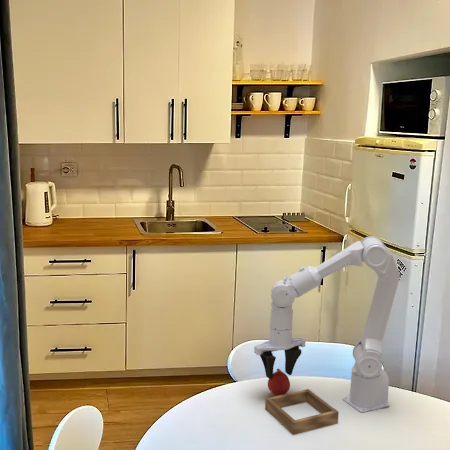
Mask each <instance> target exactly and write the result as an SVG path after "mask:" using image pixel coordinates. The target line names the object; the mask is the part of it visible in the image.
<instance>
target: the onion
mask: <svg viewBox="0 0 450 450" xmlns="http://www.w3.org/2000/svg"><path fill="white" fill-rule="evenodd" d="M267 388H268V390H269V391H270V393H272V395H274V397H275V396H279V395H284V394H288V393H289V390H290V388H291V382H290V379H289V377H288V376H287V373H286V372H284V371H282V370H281V368H277V369H276V371H275V372H273V378H272V379H269V378H268V380H267Z"/></svg>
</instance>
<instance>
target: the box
mask: <svg viewBox="0 0 450 450" xmlns="http://www.w3.org/2000/svg"><path fill="white" fill-rule="evenodd" d="M304 403H307V404H308V405H310V406H311V407H313V408H314V409H315V410H316V411H318V412H319V413H318V414H315V415H310V416H306V417H302V418H299V419H295V418H293V417H292V415H290V414H289V413H287V411H285V410H284V409H283V408H286V407H291V406H295V405H300V404H304ZM264 407H265V409H264V410H266V412H267V413H268V414H270V415H271V416H272V417H273V418H274V419H275V420H276V421H278V422H279V424H280V425H282V426H283V427H284V428H285V429H286V430H287V431H288V432H289V433H291V435H292V436H293V435H297V434H301V433H305V432H308V431H313V430H317V429H321V428H325V427H328V426H332V425H335V424H338V423H339V415H340V414H339V411H338V410H337V409H336V408H334V407H333V406H331V405H330V404H329V403H327V402H326V401H325V400H323V398H321V397H319V395H317V394H315V393H314V392H313V391H312V390H311V389H309V388H308V389H302V390H297V391H294V392H287V393H286V394H284V395H279V396H275V395H274V396H272V397H267V398H265V406H264Z"/></svg>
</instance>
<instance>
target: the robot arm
mask: <svg viewBox="0 0 450 450" xmlns="http://www.w3.org/2000/svg"><path fill="white" fill-rule="evenodd" d="M363 263H364V264H365V265H366V266H367V267H369V268H370V269H371V270H373V271H374V272H375V274H376V276H377V281H376V285H375V289H374V293H373V295H372V300H371V303H370V306H369V311H368V314H367V318H366V322H365V326H364V329H363V333H362V334H361V335H360V337H359V340H358V342H357V343H356V345H355V346H354V347H353V349H352V356H353V358H354V362H355V363H354V364H353V366H352V368H351V375H350V376H351V380H350V391H349V395H348V396H345V397H342V400H343V402H345V403H347V404H348V405H350V406H351V407H352V408H353V409H355V410H356V411H358V412H359V413H362V414H363V413H367V412H372V411H375V410H378V409H382V408H383V409H384V408H387V407H389V406H390V403H389V402H388V398H389V387H390V378H389V376H388V374H387V371H386V370H384V369H383V364H382V363H383V362H382V356H383V355H382V354H383V340H384V335H385V333H386V329H387V325H388V322H389V317H390V314H391V310H392V307H393V303H394V299H395V296H396V292H397V289H398V285H399V281H400V272H399V269H398V266H397V264H396V261H395V259H394V255H393V253H392V252H391V251H390V250H389V249H388V247H387V245H386V244H385V243H384V242H383V241H382V240H381V239H380V238H379V237H378V236H373V235H369V236H366V237H364V238H363V239H362V240H361V241H360V240H358V241H355V242H354V243H352V244H350V245H349V246H347V247H345V248H344V249H343V250H340V251H339V252H338V253H336V254H335V255H333V256H331V257H330V258H329V259H327V260H324V261H323V262H322V263H321V264H319V265H317V266H311V265H308V266H304V265H303V266H301V267H299V268H298V269H299V270H298V271H297V272H294V273H293V274H292V275H289V276H288V277H287V276H284V277H283V278H282V279H283V280H282V279H281V280H277V281H276V282H275V283H273V285H272V287H271V289H270V292H271V294H270V296H271V300H272V301H271V304H270V305H271V308H270V318H269V319H270V320H269V321H270V322H269V340H267V341H265V342H262V343H260V344H256V345H254V349H253V353H254V354H255V355H257V356H259V357H260V359H261V361H262V364H263V368H264V371H265V376H266V378H268V380H269V379H272V378H273V373H274V365H275V362H276V359H277V357H276V356H275V355H274V353H273V352H277V351H284V357H285V359H284V360H285V362H284V365H285V366H284V371H285V372H284V373H285V374H286V375H287V374H288V376H292V374H293V371H294V369H295V368H294V367H295V366H296V363H297V361H298V359H299V357H300V356H301V355H302V349H301V348H305V347H306V342H307V341H306V339H305V338H303V337H293V335H292V333H293V332H292V331H293V314H294V311H293V303H294V302H295V299H296V298H300V297H301V296H303V295H305V294H307V293H309V292H310V291H312V290H314V289H316V288H318V287H320V286H321V283H322V279H324V278H326V277H327V276H328V277H329V276H330V275H333V274H334V273H336V272H339V271H340V270H342V269H344V268H346V267H348V266H354V267H355V266H357V267H363V266H364V265H363ZM300 347H301V348H300Z"/></svg>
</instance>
